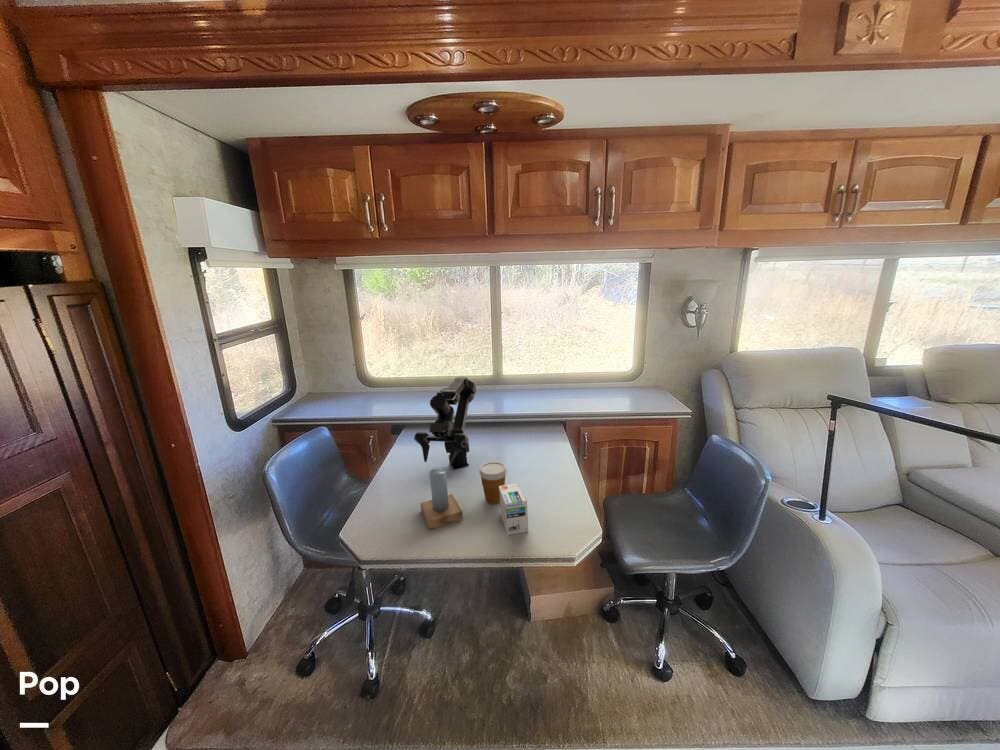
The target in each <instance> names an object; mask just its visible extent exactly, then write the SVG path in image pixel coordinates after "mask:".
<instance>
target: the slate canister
mask: <svg viewBox="0 0 1000 750" xmlns="http://www.w3.org/2000/svg"><path fill="white" fill-rule="evenodd" d="M447 478H448V477H447V471H446V469H444V468H439V467H438V468H434V469H432V470H430V471H429V483H430V484H429V485H430V493H431V500H432V504H433V509H434V510H435V511H438V512H441V511H445V510H447V509H448V507H449V500H448V495H449V491H448V479H447Z"/></svg>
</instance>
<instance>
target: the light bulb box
mask: <svg viewBox="0 0 1000 750" xmlns="http://www.w3.org/2000/svg"><path fill="white" fill-rule="evenodd" d="M499 495H500V503H499V506H500V507H499V509H500V518H501V520H502V522H503V526H504V529H505V531H506V534H507V536H511V535H516V534H521V533H528V532H529V519H528V515H529V514H528V500H527V497H526V496H525V494H524V493H523V491H522V489H521V487H520V484H519V483H518V482H517V483H511V484H505V485H503V486H499Z"/></svg>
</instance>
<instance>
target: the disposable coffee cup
mask: <svg viewBox="0 0 1000 750" xmlns="http://www.w3.org/2000/svg"><path fill="white" fill-rule="evenodd" d="M507 472H508V469H507V468H506V466H505V464H504V463H501V462H499V461H490V462H489V461H488V462H486V463H484V464H482V465H481V466H480V468H479V471H478V475H479V476H480V479H481V484H482V489H483V494H484V495H483V496H484V500H485V502H486V503H487V504H489V505H490V504H491V505H497V504H500V495H499V486H503V485H506V484H505V483H506V475H507Z"/></svg>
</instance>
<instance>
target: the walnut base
mask: <svg viewBox="0 0 1000 750" xmlns="http://www.w3.org/2000/svg"><path fill="white" fill-rule="evenodd" d="M448 500H449V507H448V509H447V510H445V511H441V512H438V511H435V510H434V509H433V504H432V499H429V500H426V501H422V502H420V511H421V513H422V515H423V518H424V521H425V523H426V525H427V527H428V530H433V529H437V528H440V527H442V526H445V525H449V524H452V523H455V522H458V521H461V520H464V515H463V510H462V508H461V506H460V505H459V503H458V501H457V500H456V498H455V497H454V495H453V493H450V494H448Z"/></svg>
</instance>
